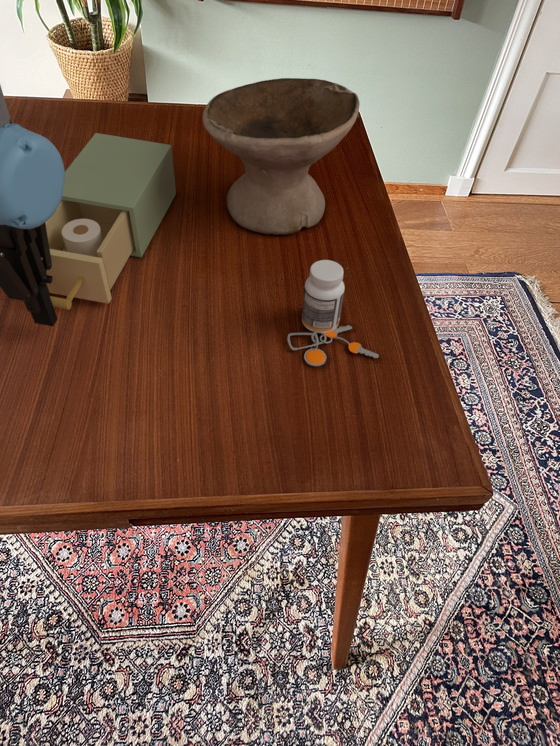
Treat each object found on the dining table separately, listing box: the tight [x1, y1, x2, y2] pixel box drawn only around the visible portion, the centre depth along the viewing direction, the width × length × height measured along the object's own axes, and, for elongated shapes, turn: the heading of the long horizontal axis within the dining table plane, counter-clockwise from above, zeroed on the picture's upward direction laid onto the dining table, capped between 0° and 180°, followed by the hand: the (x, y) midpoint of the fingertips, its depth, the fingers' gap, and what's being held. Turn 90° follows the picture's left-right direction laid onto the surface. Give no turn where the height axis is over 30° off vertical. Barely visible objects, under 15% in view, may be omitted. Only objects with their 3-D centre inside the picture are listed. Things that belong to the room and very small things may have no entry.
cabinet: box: [61, 132, 177, 258], centre depth 97 cm, size 19×14×10 cm
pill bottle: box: [301, 259, 346, 333], centre depth 83 cm, size 6×6×10 cm
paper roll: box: [62, 219, 103, 257], centre depth 88 cm, size 6×6×6 cm
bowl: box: [202, 77, 361, 236], centre depth 97 cm, size 26×25×20 cm
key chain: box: [286, 324, 380, 367], centre depth 84 cm, size 13×7×1 cm, turn 99°
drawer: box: [19, 200, 135, 311], centre depth 87 cm, size 24×12×8 cm, turn 169°
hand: (46, 320), depth 81 cm, fingers closed
